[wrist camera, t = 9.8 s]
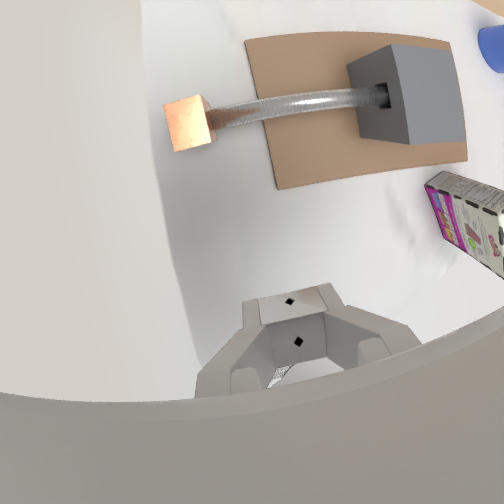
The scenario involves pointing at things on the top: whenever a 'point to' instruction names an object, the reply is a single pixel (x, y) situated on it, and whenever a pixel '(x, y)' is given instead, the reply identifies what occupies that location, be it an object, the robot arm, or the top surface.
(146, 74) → the top surface
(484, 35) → the water bottle
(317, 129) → the bearing stand
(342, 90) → the shaft
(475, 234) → the candy bar box
